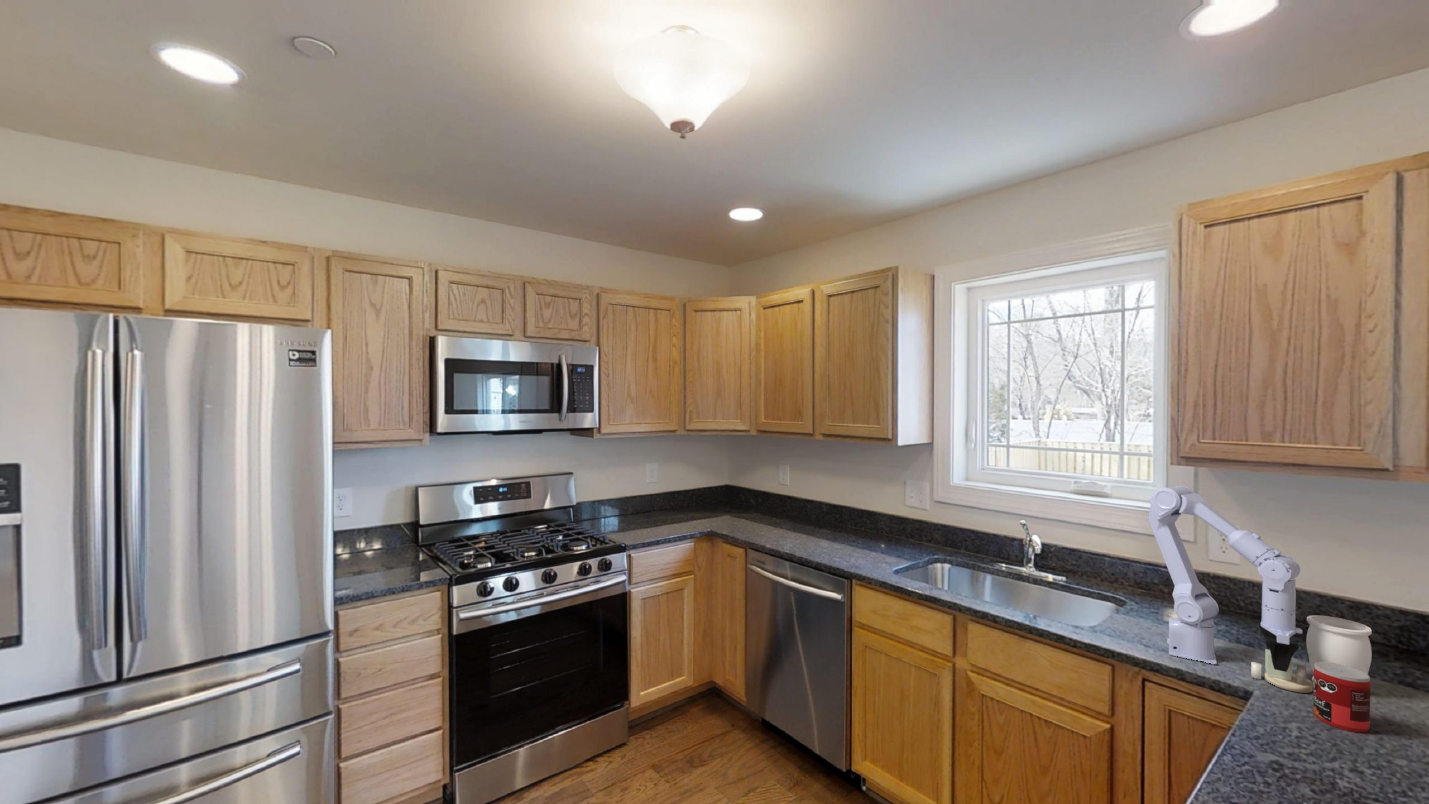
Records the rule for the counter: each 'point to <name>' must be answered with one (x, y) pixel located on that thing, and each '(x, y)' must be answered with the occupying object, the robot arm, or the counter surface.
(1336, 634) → the jar
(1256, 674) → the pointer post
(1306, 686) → the disc
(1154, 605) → the counter surface
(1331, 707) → the canned food
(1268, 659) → the link block
